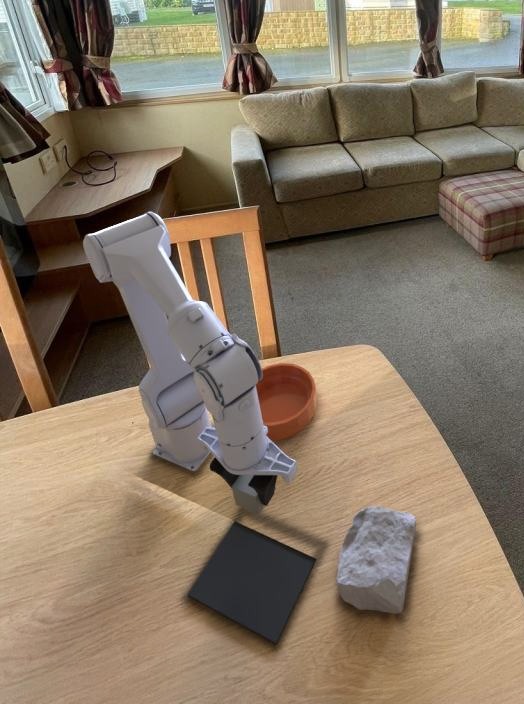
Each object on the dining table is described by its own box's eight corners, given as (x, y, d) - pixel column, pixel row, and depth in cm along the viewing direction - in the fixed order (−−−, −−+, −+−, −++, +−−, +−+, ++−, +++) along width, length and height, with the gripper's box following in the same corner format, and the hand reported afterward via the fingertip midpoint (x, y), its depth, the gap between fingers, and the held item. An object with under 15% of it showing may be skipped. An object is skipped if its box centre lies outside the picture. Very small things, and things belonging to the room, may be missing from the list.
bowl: (224, 428, 88) (220, 411, 86) (269, 372, 100) (266, 355, 98) (292, 453, 83) (289, 436, 81) (330, 391, 95) (328, 374, 93)
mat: (187, 596, 65) (187, 594, 65) (242, 510, 75) (242, 508, 75) (276, 644, 60) (276, 643, 60) (322, 546, 70) (322, 544, 70)
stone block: (335, 611, 64) (408, 620, 61) (326, 588, 63) (400, 597, 60) (358, 521, 75) (421, 525, 72) (351, 500, 73) (415, 504, 70)
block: (235, 505, 68) (231, 486, 66) (252, 479, 71) (248, 461, 69) (259, 515, 66) (255, 497, 65) (276, 488, 70) (272, 470, 68)
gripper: (304, 418, 63) (314, 484, 69) (214, 387, 68) (230, 451, 74) (274, 466, 57) (287, 534, 63) (178, 428, 62) (199, 495, 68)
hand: (255, 493), depth 68 cm, fingers closed on block, 4 cm apart
